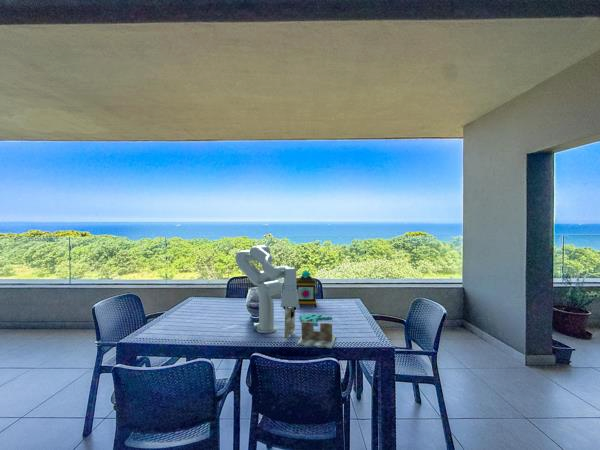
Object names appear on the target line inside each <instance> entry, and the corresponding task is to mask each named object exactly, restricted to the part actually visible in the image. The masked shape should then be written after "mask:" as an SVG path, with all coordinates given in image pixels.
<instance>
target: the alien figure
mask: <svg viewBox="0 0 600 450" xmlns="http://www.w3.org/2000/svg"><path fill="white" fill-rule="evenodd" d="M298 318H299V321H300V323H302V321H306V322H313V323H314V326H315V327H317V326H318V325H319V323H318V321H323V320H325V321H328V320H329V321H331V320H332V319H333V316H323V314H320V313H312V314H311V313H308V314H306V313H304V314H301V315H299V317H298Z"/></svg>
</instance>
